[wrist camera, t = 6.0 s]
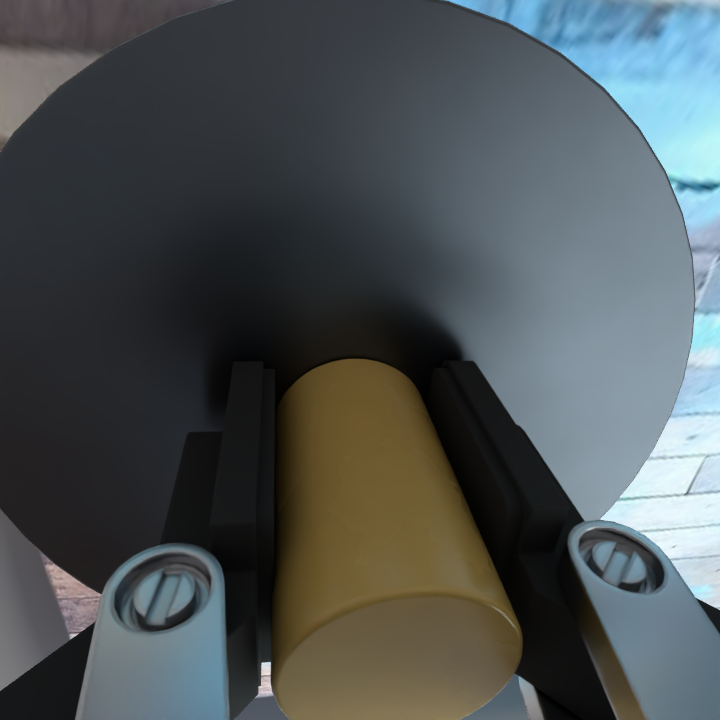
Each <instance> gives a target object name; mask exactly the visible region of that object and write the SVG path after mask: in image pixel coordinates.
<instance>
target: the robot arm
mask: <svg viewBox="0 0 720 720" xmlns="http://www.w3.org/2000/svg"><path fill="white" fill-rule="evenodd" d="M427 411H428V413H429V415H430V418H431V420H432V422H433V425H434V427H435V429H436V432H437V434H438V436H439V439H440V441H441V443H442V446H443V448H444V450H445V453H446V455H447V457H448V460H449V462H450V464H451V467H452V469H453V471H454V474H455V476H456V478H457V480H458V483H459V485H460V487H461V490H462V492H463V494H464V497H465V499H466V501H467V504H468V506H469V508H470V511H471V513H472V515H473V518H474V520H475V522H476V525H477V527H478V529H479V532H480V534H481V536H482V539H483V541H484V543H485V546H486V548H487V550H488V552H489V555H490V557H491V559H492V562H493V564H494V566H495V569H496V571H497V573H498V576H499V578H500V580H501V583H502V585H503V587H504V590H505V592H506V594H507V597H508V599H509V601H510V604H511V606H512V608H513V611H514V613H515V615H516V618H517V620H518V622H519V625H520V627H521V631H522V636H523V649H522V656H521V660H520V663H519V665H518V668H517V670H516V672H515V674H517V675H518V676H519V683H520V690H521V694H522V697H523V700H524V704H525V707H526V711H527V714H528V718H529V720H720V610H718V609H716V608H714V607H712V606H710V605H708V604H707V603H705V602H703V601H701V600H699V599H697V598H695V596H694V595H693V593H692V592H691V590H690V589H689V588H688V586H687V585H686V583H685V582H684V580H683V579H682V577H681V576H680V574H679V573H678V571H677V570H676V568H675V567H674V565H673V564H672V562H671V561H670V559H669V558H668V557H667V556H666V554H665V553H664V552H663V551H662V550H661V549H660V547H659V546H657V545H656V544H655V543H654V542H652V541H651V540H650V539H648V538H647V537H646V536H645V535H643V534H641V533H639V532H637V531H635V530H634V529H632V528H630V527H627V526H624V525H621V524H618V523H615V522H611V521H604V520H591V521H584V519H583V518H582V516H581V515H580V513H579V512H578V510H577V509H576V507H575V506H574V504H573V503H572V501H571V500H570V498H569V497H568V495H567V494H566V492H565V491H564V489H563V488H562V486H561V485H560V483H559V482H558V480H557V479H556V477H555V476H554V474H553V473H552V471H551V470H550V468H549V467H548V465H547V464H546V462H545V461H544V459H543V458H542V456H541V455H540V453H539V452H538V450H537V449H536V447H535V446H534V444H533V443H532V441H531V440H530V438H529V437H528V435H527V434H526V432H525V431H524V430H523V429H522V428H521V426H519V425H516V423H515V422H514V420H513V419H512V417H511V416H510V414H509V413H508V411H507V410H506V408H505V407H504V405H503V404H502V402H501V401H500V399H499V397H498V396H497V394H496V393H495V391H494V390H493V388H492V387H491V385H490V384H489V382H488V381H487V379H486V378H485V376H484V375H483V373H482V372H481V370H480V369H479V367H478V366H477V364H476V363H475V362H474V361H444V362H443V364H442V367H441V368H435V369H434V370H433V373H432V378H431V384H430V391H429V397H428V403H427ZM274 513H275V369H264V366H263V361H246V362H233V367H232V374H231V381H230V387H229V394H228V401H227V408H226V414H225V421H224V428H223V431H204V432H189V433H188V434H187V436H186V439H185V443H184V447H183V452H182V456H181V460H180V464H179V468H178V472H177V476H176V480H175V484H174V488H173V493H172V497H171V501H170V505H169V509H168V513H167V517H166V521H165V525H164V529H163V534H162V538H161V542H160V545H159V546H155V547H151V548H148V549H146V550H144V551H142V552H140V553H138V554H136V555H134V556H132V557H131V558H130V559H128V560H127V561H126V562H125V563H123V564H122V565H121V566H120V567H118V568H117V570H116V571H115V572H114V573H113V575H112V576H111V577H110V579H109V580H108V581H107V583H106V585H105V588H104V590H103V593H102V595H101V598H100V602H99V607H98V612H97V617H96V621H95V622H94V623H93V624H92V625H90V626H89V627H87V628H86V629H85V630H83V631H82V632H81V633H79V634H78V635H77V636H75V637H74V638H72V639H71V640H70V641H68V642H67V643H66V644H64V645H63V646H61V647H60V648H59V649H57V650H56V651H55V652H53V653H52V654H51V655H49V656H48V657H46V658H45V659H44V660H43V661H41V662H40V663H38V664H37V665H35V666H34V667H33V668H31V669H30V670H29V671H27V672H26V673H25V674H23V675H22V676H20V677H19V678H18V679H16V680H15V681H14V682H12V683H11V684H9V685H8V686H7V687H5V688H4V689H3V690H1V691H0V720H235V718H236V717H237V716H238V715H239V714H240V713H241V712H242V711H243V710H244V708H245V707H246V706H247V705H248V704H249V703H250V702H251V701H252V700H253V699H254V698H255V697H256V696H257V695H258V686H261V663H262V662H271V607H272V593H273V590H274Z"/></svg>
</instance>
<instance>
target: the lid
mask: <svg viewBox="0 0 720 720" xmlns="http://www.w3.org/2000/svg"><path fill="white" fill-rule="evenodd" d="M694 311H695V287H694V271H693V257H692V253H691V248H690V244H689V239H688V235H687V231H686V226H685V222H684V217H683V214H682V211H681V209H680V206H679V204H678V201H677V199H676V196H675V194H674V191H673V189H672V186H671V184H670V181H669V179H668V176H667V174H666V171H665V170H664V168H663V166H662V165H661V163H660V161H659V160H658V158H657V156H656V155H655V153H654V152H653V150H652V148H651V147H650V145H649V143H648V142H647V140H646V138H645V137H644V135H643V134H642V132H641V130H640V129H639V127H638V126H637V125H636V124H635V123H634V122H633V120H632V119H631V118H630V117H629V116H628V115H627V113H626V112H625V111H624V110H623V109H622V108H621V107H620V105H619V104H618V103H617V102H616V101H615V100H614V99H613V97H612V96H611V95H610V94H609V93H608V92H607V91H606V89H605V88H604V87H602V86H601V85H600V84H599V83H597V82H596V81H595V80H594V79H593V78H591V77H590V76H589V75H588V74H586V73H585V72H584V71H583V70H581V69H580V68H579V67H578V66H577V65H575V64H574V63H573V62H572V61H570V60H569V59H568V58H567V57H566V56H564V55H563V54H562V53H561V52H559V51H557V50H555V49H554V48H552V47H550V46H548V45H546V44H545V43H543V42H541V41H539V40H538V39H536V38H534V37H532V36H531V35H529V34H527V33H525V32H524V31H522V30H520V29H518V28H516V27H515V26H513V25H511V24H509V23H507V22H505V21H502V20H499V19H496V18H494V17H491V16H488V15H485V14H483V13H480V12H477V11H474V10H472V9H469V8H466V7H463V6H461V5H458V4H455V3H452V2H450V1H445V0H230V1H227V2H224V3H220V4H217V5H214V6H210V7H207V8H204V9H201V10H197V11H194V12H191V13H187V14H184V15H181V16H178V17H175V18H173V19H171V20H169V21H167V22H165V23H163V24H161V25H159V26H157V27H155V28H152V29H150V30H148V31H146V32H144V33H142V34H140V35H138V36H136V37H134V38H132V39H130V40H128V41H126V42H124V43H122V44H120V45H118V46H116V47H114V48H112V49H111V50H110V51H108V52H107V53H105V54H104V55H103V56H101V57H100V58H98V59H97V60H96V61H94V62H93V63H91V64H90V65H89V66H87V67H86V68H84V69H83V70H82V71H80V72H79V73H78V74H76V75H75V76H73V77H72V78H71V79H69V80H68V81H66V82H65V83H64V84H62V85H61V86H59V87H58V88H57V89H56V90H55V91H54V92H53V93H52V94H51V95H50V96H49V97H48V98H47V99H46V100H45V101H44V102H43V103H42V104H41V105H40V106H39V107H38V109H37V110H36V111H35V112H34V113H33V114H32V115H31V116H30V117H29V118H28V119H27V120H26V121H25V122H24V123H23V124H22V125H21V126H20V127H19V128H18V129H17V130H16V131H15V132H14V133H13V134H12V136H11V137H10V139H9V140H8V142H7V143H6V144H5V146H4V147H3V149H2V150H1V152H0V510H1V511H2V512H3V513H4V515H5V516H6V517H7V518H8V519H9V520H10V521H11V523H12V524H13V525H14V526H15V527H16V528H17V529H18V531H19V532H20V533H21V534H22V535H23V536H24V537H25V538H26V539H27V540H28V541H29V542H30V543H31V544H32V545H34V546H35V547H36V548H37V549H38V550H39V551H40V552H41V553H43V554H44V555H45V556H46V557H47V558H48V559H49V560H50V561H52V562H53V563H54V564H55V565H57V566H58V567H59V568H61V569H62V570H64V571H65V572H67V573H68V574H70V575H71V576H72V577H74V578H75V579H77V580H78V581H80V582H81V583H82V584H84V585H85V586H87V587H89V588H90V589H92V590H94V591H96V592H98V593H100V594H102V593H103V590H104V588H105V585H106V583H107V581H108V580H109V579H110V577H111V576H112V575H113V573H114V572H115V571H116V570H117V568H118V567H120V566H121V565H122V564H123V563H125V562H126V561H127V560H128V559H130V558H131V557H132V556H134V555H136V554H138V553H140V552H142V551H144V550H146V549H148V548H151V547H155V546H159V545H160V542H161V538H162V534H163V529H164V525H165V521H166V517H167V513H168V509H169V505H170V501H171V497H172V493H173V488H174V484H175V480H176V476H177V472H178V468H179V464H180V460H181V456H182V452H183V447H184V443H185V439H186V436H187V434H188V433H189V432H204V431H223V428H224V421H225V414H226V408H227V401H228V394H229V387H230V381H231V374H232V367H233V362H246V361H263V366H264V369H275V513H274V590H273V593H272V607H271V687H272V692H273V695H274V697H275V700H276V702H277V704H278V706H279V708H280V709H281V711H282V712H283V714H284V715H285V716H286V717H287V718H288V719H289V720H460V719H462V718H464V717H466V716H467V715H470V714H471V713H473V712H474V711H476V710H478V709H479V708H481V707H482V706H483V705H485V704H486V703H488V702H489V701H490V700H491V699H493V698H494V697H495V696H496V695H497V694H498V693H499V692H500V691H501V690H502V689H503V688H504V687H505V686H506V685H507V683H508V682H509V681H510V679H511V678H512V676H513V675H514V674H515V672H516V670H517V668H518V665H519V663H520V660H521V656H522V649H523V636H522V631H521V627H520V625H519V622H518V620H517V618H516V615H515V613H514V611H513V608H512V606H511V604H510V601H509V599H508V597H507V594H506V592H505V590H504V587H503V585H502V583H501V580H500V578H499V576H498V573H497V571H496V569H495V566H494V564H493V562H492V559H491V557H490V555H489V552H488V550H487V548H486V546H485V543H484V541H483V539H482V536H481V534H480V532H479V529H478V527H477V525H476V522H475V520H474V518H473V515H472V513H471V511H470V508H469V506H468V504H467V501H466V499H465V497H464V494H463V492H462V490H461V487H460V485H459V483H458V480H457V478H456V476H455V474H454V471H453V469H452V467H451V464H450V462H449V460H448V457H447V455H446V453H445V450H444V448H443V446H442V443H441V441H440V439H439V436H438V434H437V432H436V429H435V427H434V425H433V422H432V420H431V418H430V415H429V413H428V411H427V403H428V397H429V391H430V384H431V378H432V373H433V370H434V369H435V368H441V367H442V364H443V362H444V361H474V362H475V363H476V364H477V366H478V367H479V369H480V370H481V372H482V373H483V375H484V376H485V378H486V379H487V381H488V382H489V384H490V385H491V387H492V388H493V390H494V391H495V393H496V394H497V396H498V397H499V399H500V401H501V402H502V404H503V405H504V407H505V408H506V410H507V411H508V413H509V414H510V416H511V417H512V419H513V420H514V422H515V423H516V425H519V426H521V428H522V429H523V430H524V431H525V432H526V434H527V435H528V437H529V438H530V440H531V441H532V443H533V444H534V446H535V447H536V449H537V450H538V452H539V453H540V455H541V456H542V458H543V459H544V461H545V462H546V464H547V465H548V467H549V468H550V470H551V471H552V473H553V474H554V476H555V477H556V479H557V480H558V482H559V483H560V485H561V486H562V488H563V489H564V491H565V492H566V494H567V495H568V497H569V498H570V500H571V501H572V503H573V504H574V506H575V507H576V509H577V510H578V512H579V513H580V515H581V516H582V518H583V519H584V521H591V520H599V519H600V518H601V517H602V516H603V515H604V514H605V513H606V512H607V511H608V510H609V509H610V508H611V507H612V506H613V504H614V503H615V502H616V501H617V499H618V498H619V497H620V496H621V494H622V493H623V492H624V491H625V489H626V488H627V487H628V486H629V485H630V483H631V482H632V481H633V480H634V478H635V477H636V475H637V474H638V472H639V470H640V469H641V467H642V466H643V464H644V463H645V461H646V460H647V458H648V457H649V455H650V454H651V452H652V450H653V449H654V447H655V445H656V443H657V441H658V439H659V437H660V435H661V433H662V431H663V429H664V427H665V425H666V423H667V421H668V419H669V417H670V415H671V412H672V410H673V407H674V404H675V401H676V399H677V396H678V393H679V390H680V388H681V385H682V382H683V379H684V375H685V370H686V366H687V361H688V357H689V352H690V348H691V343H692V335H693V323H694Z"/></svg>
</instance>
